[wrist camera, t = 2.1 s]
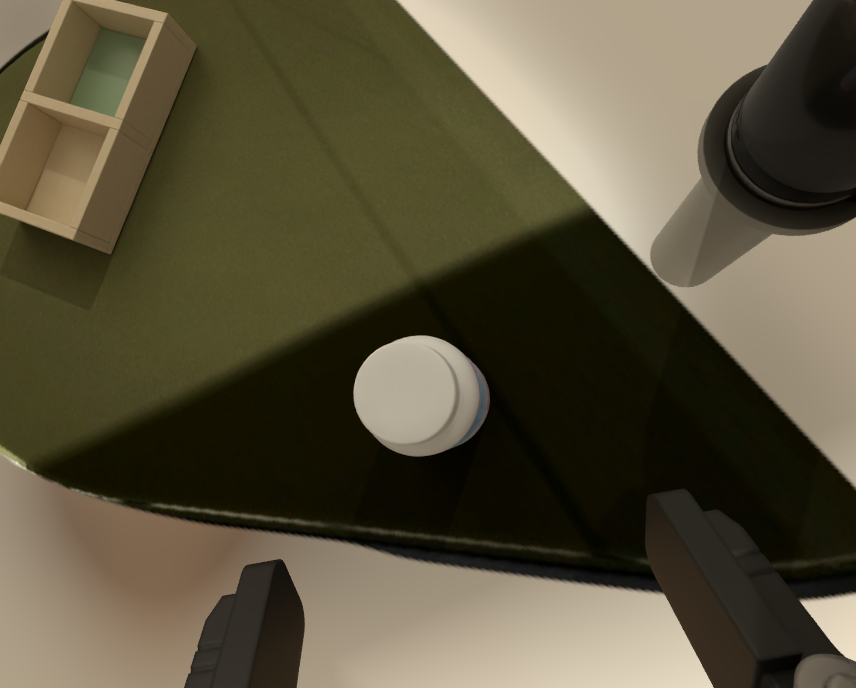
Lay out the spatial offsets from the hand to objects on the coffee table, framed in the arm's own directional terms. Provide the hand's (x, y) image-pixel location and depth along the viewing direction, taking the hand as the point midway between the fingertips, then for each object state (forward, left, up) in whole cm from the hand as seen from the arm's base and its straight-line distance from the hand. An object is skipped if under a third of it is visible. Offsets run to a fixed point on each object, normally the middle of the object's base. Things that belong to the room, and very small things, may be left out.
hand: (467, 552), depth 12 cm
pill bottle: (+5, -2, -22) cm, 23 cm away
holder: (+37, -12, -22) cm, 45 cm away
